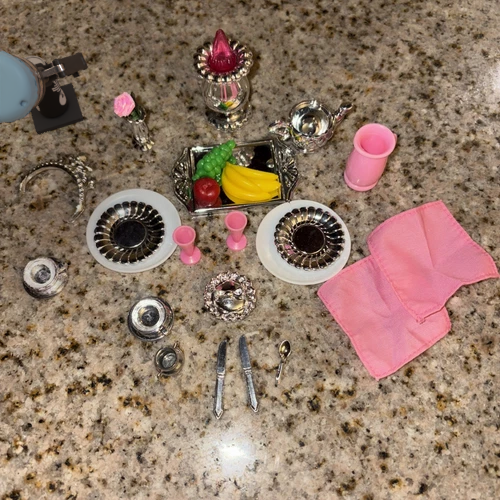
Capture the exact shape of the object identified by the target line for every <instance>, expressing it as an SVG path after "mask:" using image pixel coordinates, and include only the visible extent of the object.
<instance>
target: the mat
mask: <svg viewBox="0 0 500 500" xmlns="http://www.w3.org/2000/svg"><path fill="white" fill-rule="evenodd" d="M60 86H61V88H62V90H63V92H64V93H65V95H66V97H67V99H68V107H67V109H66V110H65V112H64V113H63V114H61V115H60V116H57V117H46V116H43V115H42V114H40V112H39V111H38V109H37V108H36V107H35V108H34V109H32V110H31V112H30V113H31V114H30V115H31V117H32V121H33V125H34V129H35V133H36V134H37V135H38V134H39V135H42V134H45V133H48V132H52V131H55V130H57V128H58V129H61V128H64V127H67V126H71V125H73V124H76V123H80V122H83V121H84V116H83V113H82V110H81V107H80V104H79V101H78V100H79V99H78V98H77V95H76V91H75V88H73V87H74V85H73V83H72V82H70V83H66V84H63V85H60ZM54 129H55V130H54ZM51 130H52V131H51ZM47 131H48V132H47ZM44 132H45V133H44ZM41 133H42V134H41Z"/></svg>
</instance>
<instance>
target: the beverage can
mask: <svg viewBox="0 0 500 500" xmlns="http://www.w3.org/2000/svg"><path fill="white" fill-rule="evenodd" d="M24 58H25V59H27V60H29V61H31V62H32V63H33V64H38V63H42V64H43V65H47V64H48V62H46V61H45V59H43V58H42V57H40V56H39V55H38V56H37V55H28V56H25V57H24ZM61 86H62V85H61V84H60V83H59V81H58V79H56V80H54V81H52V85H51V86H48V87H45V94H44V97H43V99H42V101H41V102H40V104H39V105H38V106H36V108H37V109H38V111H39V112H40V114H42V115H43V116H46V117H57V116H60V115H61V114H63V113H64V112H65V110H66V109H67V107H68V99H67V97H66V95H65V93H64V92H63V90H62V88H61Z"/></svg>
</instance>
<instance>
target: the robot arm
mask: <svg viewBox="0 0 500 500" xmlns="http://www.w3.org/2000/svg"><path fill="white" fill-rule="evenodd" d="M88 69H89V66H88V63H87V62H86V59H85V57H84V55H83V52H82V51H81V52H76V53H75V54H72V55H68V56H64V57H61V58H54V59H53V60H51V61H50V62H49V63H47V65H43V64H42V63H38V64H33V63H32V62H31V61H29V60H27V59H25V57H23V56H20V55H18V54H17V55H16V54H12V53H9V52H8V51H5V50H4V49H2V48H0V124H5V123H6V124H9V123H14V122H17V121H20V120H22V119H28V118H30V117H31V114H30V113H31V110H32V109H34V108H35V107H36V106H38V105H39V104H40V102H41V101H42V99H43V97H44V94H45V87H48V86H51V85H52V81H54V80H56V79H57V80H60V79H64V78H66V77H70V76H72V78H73V79H77V78H79V77H81V75H80V73H79V72H80V71H85V70H88Z"/></svg>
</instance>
